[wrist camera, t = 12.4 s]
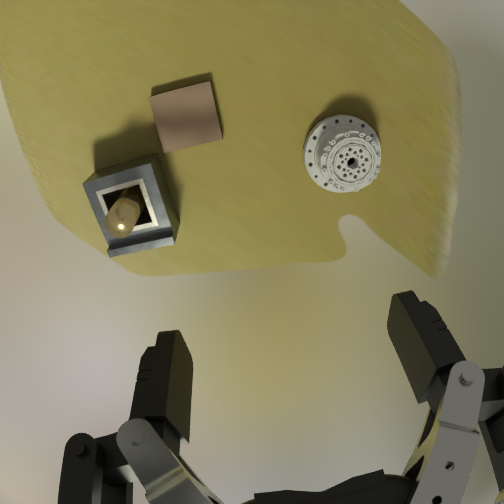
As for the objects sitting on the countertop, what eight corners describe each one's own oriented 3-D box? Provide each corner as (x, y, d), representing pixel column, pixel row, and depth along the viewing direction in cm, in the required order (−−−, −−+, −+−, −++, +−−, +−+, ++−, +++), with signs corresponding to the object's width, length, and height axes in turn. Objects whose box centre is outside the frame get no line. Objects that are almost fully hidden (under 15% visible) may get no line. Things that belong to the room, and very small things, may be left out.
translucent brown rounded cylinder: (120, 185, 38) (99, 214, 31) (144, 179, 38) (126, 206, 31) (129, 208, 40) (110, 240, 33) (152, 203, 40) (137, 234, 33)
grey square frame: (94, 171, 36) (79, 187, 32) (157, 152, 36) (148, 166, 32) (120, 236, 42) (109, 257, 38) (179, 223, 41) (174, 243, 37)
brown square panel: (150, 96, 32) (148, 97, 31) (210, 80, 32) (209, 81, 31) (165, 150, 36) (164, 153, 35) (222, 137, 36) (222, 139, 35)
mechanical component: (389, 140, 37) (328, 98, 34) (405, 150, 33) (340, 104, 30) (350, 200, 41) (287, 166, 38) (361, 215, 38) (294, 179, 35)
